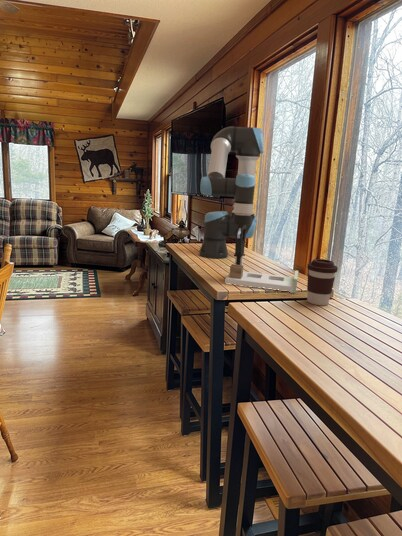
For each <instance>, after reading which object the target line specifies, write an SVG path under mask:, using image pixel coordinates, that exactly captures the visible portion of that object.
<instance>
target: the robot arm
mask: <svg viewBox="0 0 402 536" xmlns="http://www.w3.org/2000/svg"><path fill="white" fill-rule="evenodd" d="M210 150H211V153H210V154H211V155H210V157H209V158H210V159H209V165H208V170H207V175H206V176H202V177H201V179H200V184H199V185H200V187H199V188H200V189H199V190H200V193H201V195H204V196H209V197H210V196H212V197H213V196H214V197H215V196H216V197H229V198H230V197H233V198H234V203H233V205H232V208H233V210H232V211H231V214H229V212H228V211H226V210H225V211H224V210H220V211H219V210H218V211H217V210H216V211H209V212H207V213H206V214H205V215H204V220H203V223H204V229H203V241H202V243H201V246H200V248H199V254H198V255H199V256H200V257H203V258H208V259H225V258H226V259H227V258H228V257H229V251H228V247H227V243H226V239H227V238H235V242H234V243H235V245H234V246H235V248H234V250H235V252H234V254H233V257H235V261H234V264H235V265H243V262H244V261H243V258H244V257H245V256H246V254H245V245H246V239H251V238H253V236H254V235H255V230H256V228H257V227H256V225H257V221H258V216H257V215H255V213H256V212H255V211H254V198H255V188H256V187H255V185H256V169H257V168H256V167H257V161H258V160H259V159H260V157H261V155H262V154H263V153H264V134H263V130H262V128H260V127H254V126H253V127H251V126H245V127H244V126H227V127H224V128H222V129H221V130H220V131H218V132H217V133H216V134H215V135H213V138H212V140H211V142H210ZM231 152H232V153H235V157H236V158H237V159H238V167H237V168H238V169H237V175H236V177H235V178H233V177H232V178H231V177H226V171H227V163H228V155H229V153H231Z"/></svg>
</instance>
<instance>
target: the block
mask: <svg viewBox="0 0 402 536" xmlns="http://www.w3.org/2000/svg"><path fill="white" fill-rule="evenodd" d="M243 271H244V265H243V264H242V265H235V263H232V264H231V265H230V268H229V273H230V277H229V278H237V279H241V278H242V276H243Z"/></svg>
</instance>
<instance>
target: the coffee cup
mask: <svg viewBox="0 0 402 536" xmlns="http://www.w3.org/2000/svg"><path fill="white" fill-rule="evenodd" d="M307 270H308V273H307V285H306V290H307V296H306V300H307V302H308V303H309V304H311V305H316V306H328V304H329V303H330V298H331V294H332V293H333V287H334V284H335V278H336V277H335V276H336V273H338V266H337V265H335V263H334V261H332V260H330V259H325V258H324V259H323V258H315V259H312V261H311V262H308V263H307Z"/></svg>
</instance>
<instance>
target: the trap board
mask: <svg viewBox="0 0 402 536" xmlns="http://www.w3.org/2000/svg"><path fill="white" fill-rule="evenodd" d="M298 276H299V270H295V271H294V276H285V275H276V274H268V273H262V272H252V271H251V272H250V271H244V270H243V276H242V278H241V279H237V278H229V277H230V272H229V273H228V275H227V276H225V280H224V284H225V283H231V284H236V285H243V286H252V287H265V288H272V289H279V290H287V291H289V292H290V294H296V293H297V284H298ZM289 292H288V293H289Z"/></svg>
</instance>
